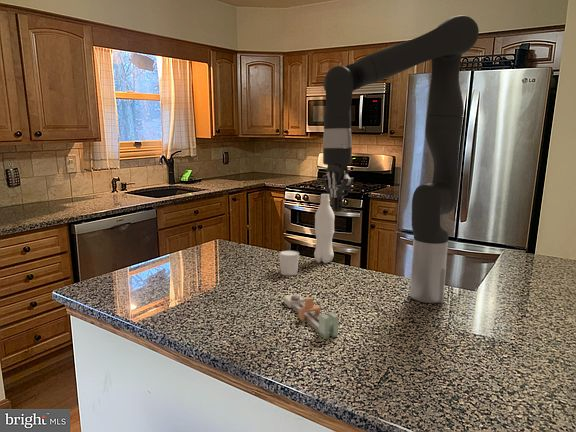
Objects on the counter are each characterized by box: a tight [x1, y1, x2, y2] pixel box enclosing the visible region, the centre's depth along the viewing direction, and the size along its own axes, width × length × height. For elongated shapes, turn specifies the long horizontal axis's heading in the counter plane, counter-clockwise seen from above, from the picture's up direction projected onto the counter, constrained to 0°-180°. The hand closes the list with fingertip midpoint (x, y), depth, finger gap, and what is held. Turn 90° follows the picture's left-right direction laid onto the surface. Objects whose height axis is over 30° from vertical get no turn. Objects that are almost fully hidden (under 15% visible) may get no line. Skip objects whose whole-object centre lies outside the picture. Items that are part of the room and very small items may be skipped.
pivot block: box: [283, 293, 305, 309], centre depth 118 cm, size 4×4×2 cm
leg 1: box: [291, 303, 330, 340], centre depth 106 cm, size 19×1×5 cm, turn 23°
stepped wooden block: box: [298, 296, 321, 322], centre depth 109 cm, size 2×5×5 cm, turn 113°
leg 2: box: [299, 302, 339, 338], centre depth 107 cm, size 19×1×5 cm, turn 22°
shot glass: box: [278, 250, 300, 276], centre depth 144 cm, size 7×7×7 cm
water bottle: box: [313, 193, 336, 264], centre depth 155 cm, size 7×7×25 cm
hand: (337, 211), depth 115 cm, fingers closed
